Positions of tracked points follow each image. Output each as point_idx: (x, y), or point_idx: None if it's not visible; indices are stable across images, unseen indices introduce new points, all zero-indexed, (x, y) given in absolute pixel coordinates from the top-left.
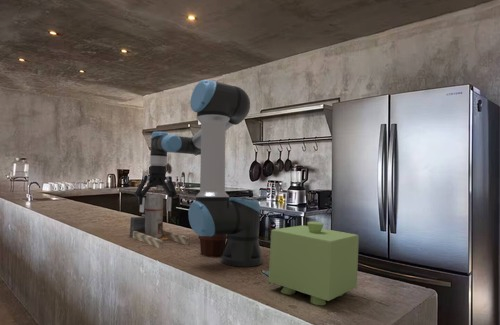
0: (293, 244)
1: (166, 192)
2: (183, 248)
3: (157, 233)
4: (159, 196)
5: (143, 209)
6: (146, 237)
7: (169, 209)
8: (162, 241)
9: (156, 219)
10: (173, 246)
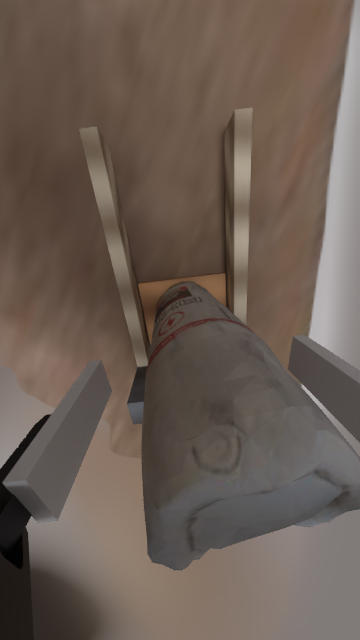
0: None
1: (28, 630)
2: (146, 69)
3: (187, 286)
4: (253, 422)
5: (311, 345)
6: (246, 251)
7: (95, 367)
8: (236, 111)
9: (204, 302)
10: (171, 142)
